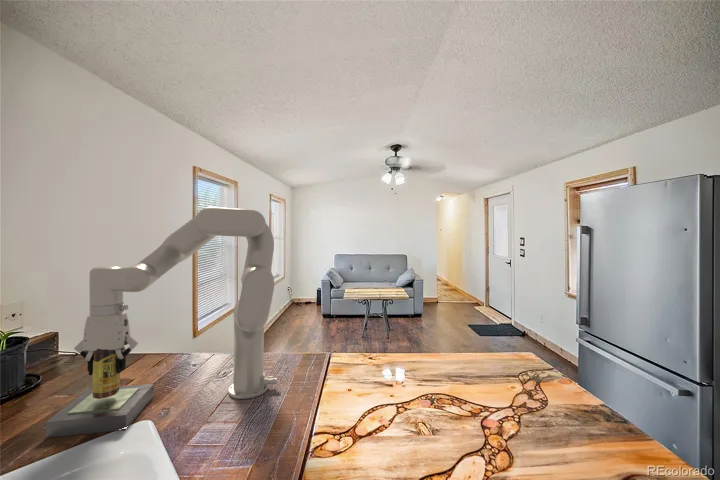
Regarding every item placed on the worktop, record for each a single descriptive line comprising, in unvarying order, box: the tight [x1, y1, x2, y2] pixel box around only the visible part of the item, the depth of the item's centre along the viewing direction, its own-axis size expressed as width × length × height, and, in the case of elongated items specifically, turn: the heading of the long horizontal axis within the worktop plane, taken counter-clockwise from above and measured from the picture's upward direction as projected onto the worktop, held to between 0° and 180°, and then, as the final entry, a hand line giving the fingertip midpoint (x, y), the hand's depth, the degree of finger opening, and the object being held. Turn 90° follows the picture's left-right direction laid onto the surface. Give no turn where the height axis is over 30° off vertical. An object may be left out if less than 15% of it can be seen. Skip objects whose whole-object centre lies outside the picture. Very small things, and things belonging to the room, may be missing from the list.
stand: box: [45, 383, 155, 438], centre depth 93 cm, size 18×18×4 cm
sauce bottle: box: [91, 349, 121, 399], centre depth 93 cm, size 7×6×20 cm
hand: (107, 371), depth 93 cm, fingers closed on sauce bottle, 6 cm apart
